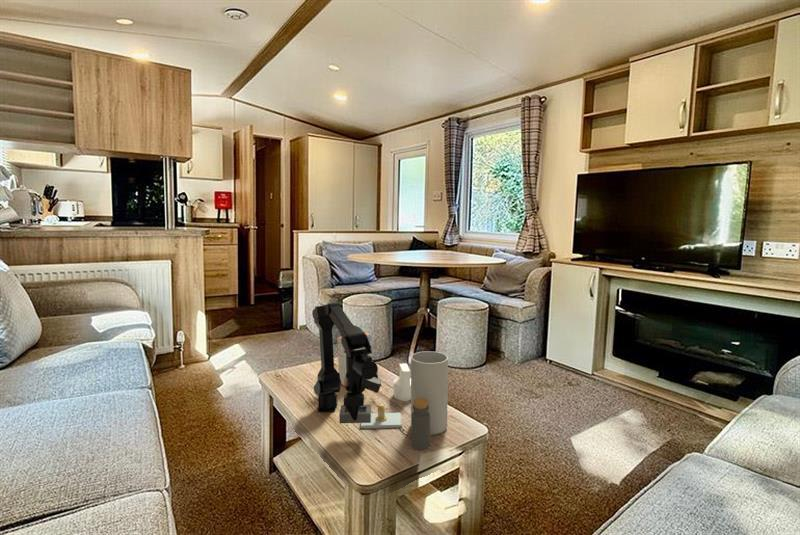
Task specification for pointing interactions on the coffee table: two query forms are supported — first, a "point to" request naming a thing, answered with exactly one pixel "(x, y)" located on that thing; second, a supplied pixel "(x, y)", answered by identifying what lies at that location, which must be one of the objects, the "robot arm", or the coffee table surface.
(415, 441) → the bottle
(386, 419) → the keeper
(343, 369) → the cracker box
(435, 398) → the cylinder vase
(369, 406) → the link
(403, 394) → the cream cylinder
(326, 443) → the coffee table surface
